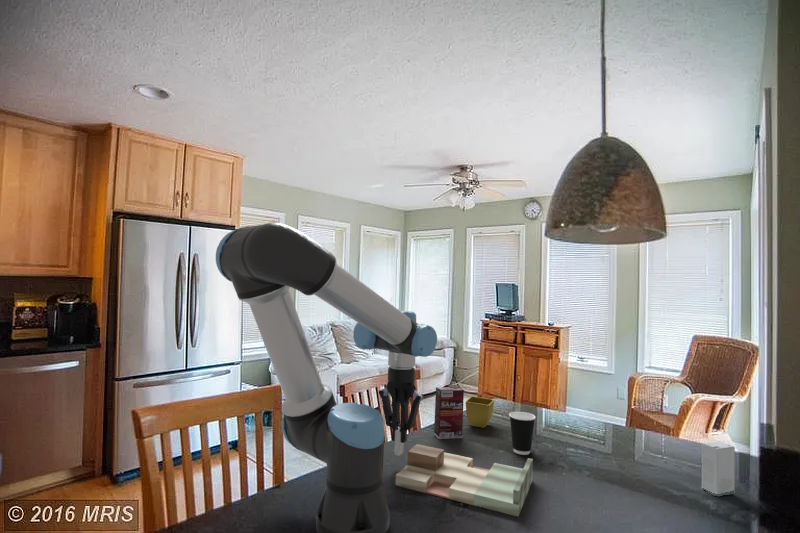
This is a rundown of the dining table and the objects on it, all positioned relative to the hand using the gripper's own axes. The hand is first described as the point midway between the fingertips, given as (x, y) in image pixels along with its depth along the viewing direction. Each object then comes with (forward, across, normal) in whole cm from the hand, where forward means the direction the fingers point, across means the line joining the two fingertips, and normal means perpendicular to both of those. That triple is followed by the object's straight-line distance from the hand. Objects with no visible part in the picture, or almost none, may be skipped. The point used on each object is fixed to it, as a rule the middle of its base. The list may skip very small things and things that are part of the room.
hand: (398, 453), depth 118 cm
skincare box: (+4, -77, -26) cm, 81 cm away
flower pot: (+4, -10, -47) cm, 48 cm away
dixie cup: (+4, -28, -29) cm, 40 cm away
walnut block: (+1, -8, 0) cm, 8 cm away
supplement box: (+4, -4, -30) cm, 31 cm away
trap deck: (+4, -19, 0) cm, 19 cm away
